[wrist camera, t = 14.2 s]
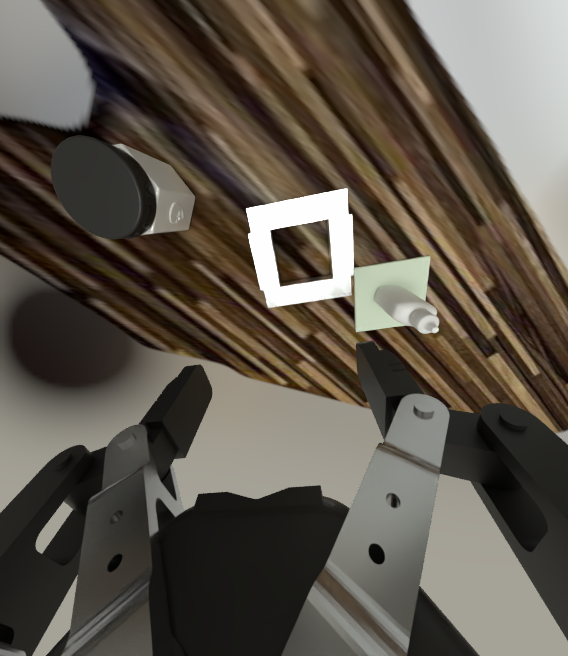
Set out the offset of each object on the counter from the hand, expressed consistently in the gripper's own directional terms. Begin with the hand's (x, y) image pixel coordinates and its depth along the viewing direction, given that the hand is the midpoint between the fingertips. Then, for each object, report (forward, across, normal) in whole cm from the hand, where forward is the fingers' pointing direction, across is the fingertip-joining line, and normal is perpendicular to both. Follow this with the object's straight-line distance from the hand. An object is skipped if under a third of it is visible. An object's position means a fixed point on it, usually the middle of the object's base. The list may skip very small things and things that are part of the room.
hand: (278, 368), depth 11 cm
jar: (+26, +15, -12) cm, 32 cm away
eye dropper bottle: (+25, -16, +7) cm, 30 cm away
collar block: (+26, -3, -2) cm, 26 cm away
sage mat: (+25, -16, +8) cm, 31 cm away
